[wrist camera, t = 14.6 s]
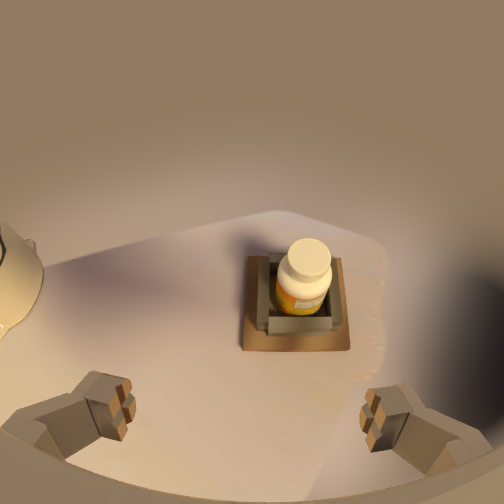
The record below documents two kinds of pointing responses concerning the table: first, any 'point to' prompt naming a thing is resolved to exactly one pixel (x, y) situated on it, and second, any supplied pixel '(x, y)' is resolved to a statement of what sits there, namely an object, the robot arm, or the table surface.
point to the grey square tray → (292, 328)
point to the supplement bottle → (303, 278)
